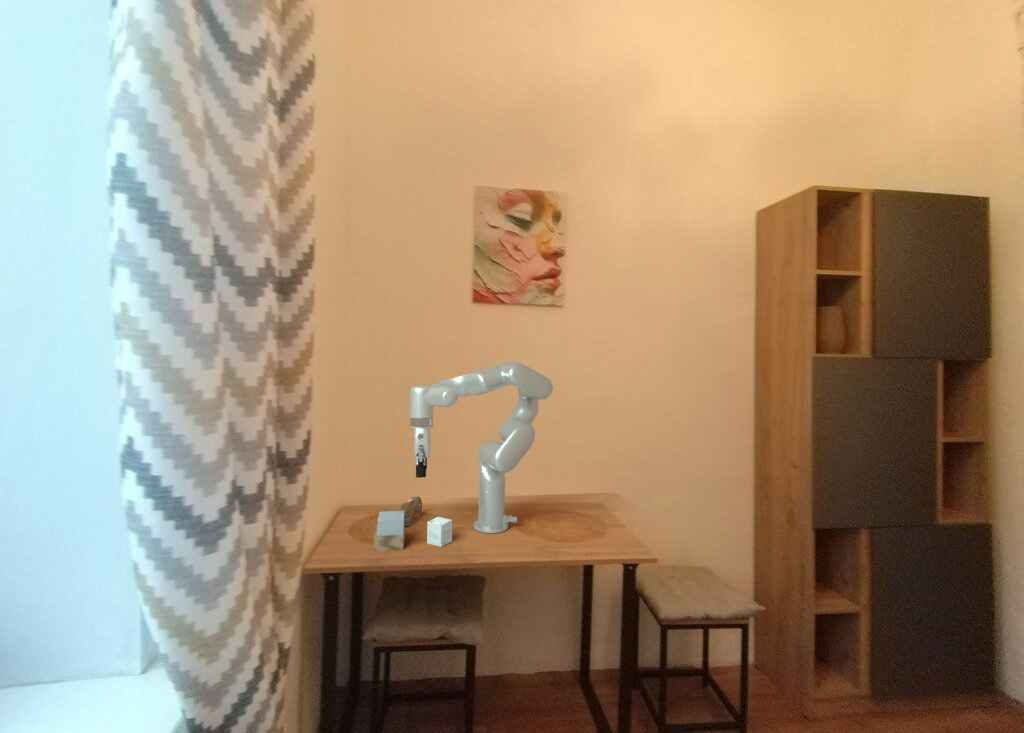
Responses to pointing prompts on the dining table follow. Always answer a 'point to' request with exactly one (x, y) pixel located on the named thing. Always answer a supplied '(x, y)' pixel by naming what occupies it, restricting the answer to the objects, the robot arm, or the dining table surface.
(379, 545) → the block
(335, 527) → the dining table surface
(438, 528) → the skincare box
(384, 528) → the tower top
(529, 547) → the dining table surface
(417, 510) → the tin
